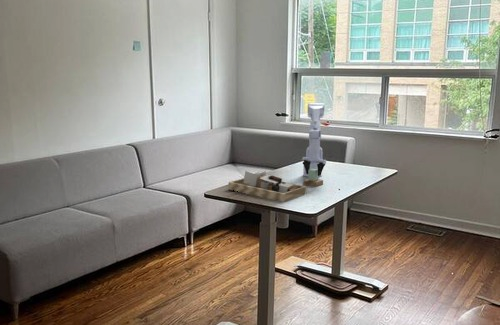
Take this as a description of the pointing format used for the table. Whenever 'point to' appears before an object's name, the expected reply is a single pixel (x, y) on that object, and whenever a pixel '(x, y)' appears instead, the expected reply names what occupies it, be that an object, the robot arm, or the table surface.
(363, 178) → the table surface
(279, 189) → the toy
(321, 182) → the walnut plinth
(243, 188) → the tray
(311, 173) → the green block
